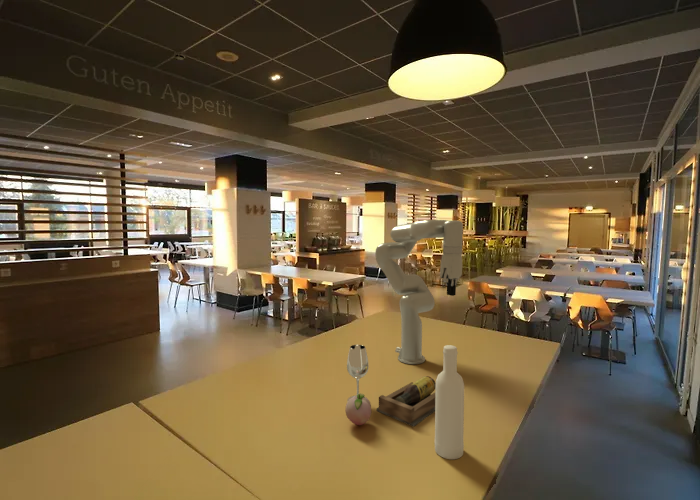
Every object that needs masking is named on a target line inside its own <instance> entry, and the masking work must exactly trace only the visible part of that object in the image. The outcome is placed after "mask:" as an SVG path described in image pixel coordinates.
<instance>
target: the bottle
mask: <svg viewBox="0 0 700 500" xmlns="http://www.w3.org/2000/svg"><path fill="white" fill-rule="evenodd" d="M442 350H443V351H442V353H443V361H442V362H443V363H442V364H443V365H442V366H443V369H442V371H441V372H440V373H438V374H437V377H436V380H435V383H436V388H435V392H434V393H435V412H434V413H435V415H434V451H435V453H436V454H437V455H438V456H439V457H442V458H443V459H447V460H457V459H459V458H461V457H462V456H463V455H464V447H465V446H464V430H465V427H464V423H465V422H464V421H465V416H464V415H465V382H464V379H463V377H462V375H461V374H460V373H458V371H457V367H458V366H457V365H458V364H457V363H458V353H459V352H458V348H457V346H456V345H451V344H449V345H448V344H446V345H444V346H443V349H442Z"/></svg>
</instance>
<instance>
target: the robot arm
mask: <svg viewBox="0 0 700 500" xmlns="http://www.w3.org/2000/svg"><path fill="white" fill-rule="evenodd" d="M463 235H464V224H463V222H462V221H461V220H446V219H426V220H418V221H414V222H412V223H411V222H410V223H405V224H398V225H396V226H394V227H393V228H392V229H391V230H390V238H391V240H392V241H393V242H384V243H380V244H378V246H377V247H376V249H375V255H374V256H375V260H376V263H377V265H378V266H379V267H378V268H380V270H381V271H382V272H383V274H384V275H385V277H386V279H387V280H388V283H389V284H390V286H391V288H392V290H394V293H396V294H397V295H399V296H401V298H399V303H398V305H399V310H400V317H401V318H400V320H401V322H400V323H401V347H400V346H396V348H395V350H394V351H395V353H398V356H397V360H398V361H399V362H401V363H403V364H407V365H408V364H409V365H418V364H419V365H420V364H423V363H424V362H425V361H426V357H425V356H424V355H423V354H422V353H423V351H422V350H423V348H422V347H423V346H422V345H423V322H422V319H421V317H420V315H419V314H420V313H426V312H429V311H433V309H434V307H435V305H436V304H435V303H436V301H435V299H434V298H435V297H434V296H433V294H432V292H431V290H430V289H429V288H428V286H427V284H426V283H425V281H424V279H423V278H422V277H421V276H420V275H418V274H416V273H412V274H406V273H405V272H404V270H403V268H402V267H401V265H400V264H398V263H397V262H396V261H394V260H399V259H400V260H402V259H405V258H407V257H408V256H410V254H411V252H412V251H413V248H414V247H415V246H416V244H417V242H420V241H421V240H422V239H436V238H437V239H438V238H439V239H440V238H443V240H442V241H443V243H442V245H443V246H442V247H443V248H442V250H443V251H442V255H441V259H440V260H441V262H440V269H439V276H440V278H441V279H443V281H442V282H444V283H445V285H446V295H447V296H451V297H454V296H456V292H457V291H456V290H457V283H458V281H459V280H460V278H461V277H462V275H463V258H462V256H463V237H464V236H463Z"/></svg>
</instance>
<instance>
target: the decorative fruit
mask: <svg viewBox="0 0 700 500" xmlns="http://www.w3.org/2000/svg"><path fill="white" fill-rule="evenodd" d="M356 395H357V394H356ZM356 395H354V396H355V397H352V398H351V399H349V401H347V402H346V405H345V415H346V418H347V419H348V420H349V421H350V422H351V423H353V424H354V425H356V426H363V425H364V424H366V423H368V421H369V420H370V418H371V415H372V403H371V401H370V400H369V399H368V398H367V397H366V396H365V394H363V393H360V392H359V394H358V395H357V396H356Z"/></svg>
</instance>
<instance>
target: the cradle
mask: <svg viewBox="0 0 700 500" xmlns="http://www.w3.org/2000/svg"><path fill="white" fill-rule="evenodd" d="M413 383H414V382H410V383H408V384H406V385H404V386H403V387H400V388H398V389H397V390H395V391H392V392H391V393H389V394H388V395H383V394H382V395H380V396H378V407H376V408H375V409H376V412H378V413H381V414H384V415H385V416H388V417H390V418H392V419H395V420H397V421H400V422H401V423H404V424H406V425H408V426H411V427H413V428H414V427H415V426H417V425H418V424H419V423H421V422H422V421H424V420H425V419H427V418H428V417H429V416H430V415H432V414H434V413H435V392H432V393H431V394H430V395H428V396H427V397H426V398H424V399H423V400H421V401H420V402H418V403H413V404H409V405H407V404H404V403H402V402H399V401H396V398H397V397H399V396H401V395H403V394H404V391H405V389H406V388H407V387H409V386H410V385H411V384H413Z"/></svg>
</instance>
